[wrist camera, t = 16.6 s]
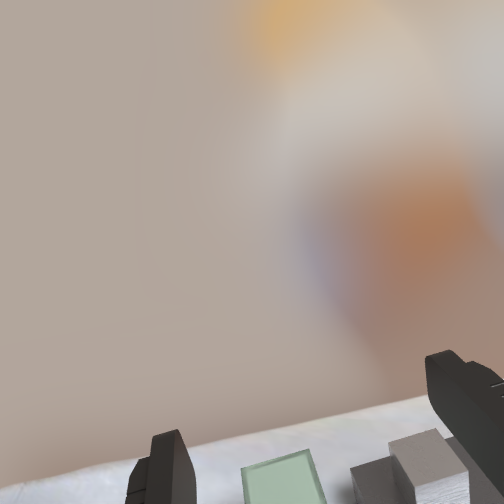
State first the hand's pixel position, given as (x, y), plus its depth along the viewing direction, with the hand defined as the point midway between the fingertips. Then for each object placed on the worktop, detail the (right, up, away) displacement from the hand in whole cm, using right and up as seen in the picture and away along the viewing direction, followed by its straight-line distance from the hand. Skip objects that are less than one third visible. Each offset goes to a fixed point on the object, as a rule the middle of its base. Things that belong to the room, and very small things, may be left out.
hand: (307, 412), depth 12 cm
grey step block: (+13, -17, +20) cm, 30 cm away
